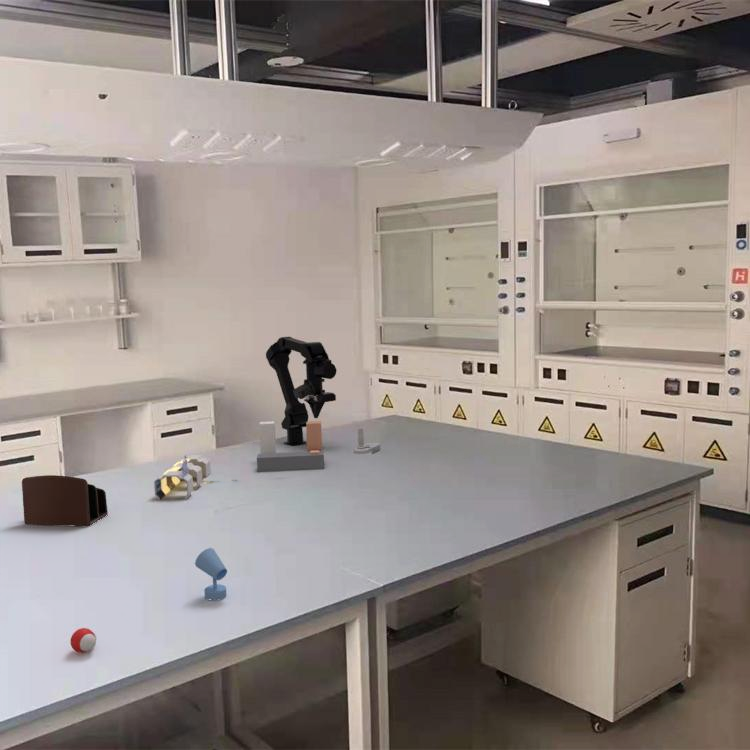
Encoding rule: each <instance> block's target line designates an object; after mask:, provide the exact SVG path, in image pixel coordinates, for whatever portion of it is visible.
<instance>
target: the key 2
mask: <svg viewBox="0 0 750 750" xmlns="http://www.w3.org/2000/svg"><path fill="white" fill-rule="evenodd" d="M305 428H306V430H305V431H306V449H307V451H313V450H319V451H323V438H322V437H323V436H322V434H323V433H322V421H321V420H315V421H314V420H312V421H308V422H306V427H305ZM307 451H306V452H307Z"/></svg>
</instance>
